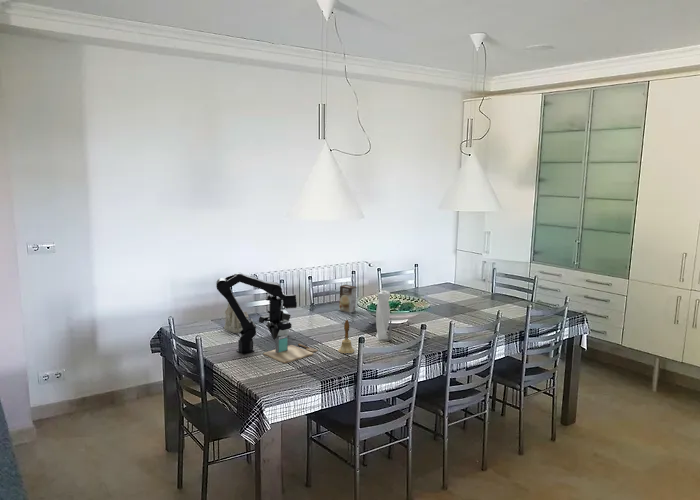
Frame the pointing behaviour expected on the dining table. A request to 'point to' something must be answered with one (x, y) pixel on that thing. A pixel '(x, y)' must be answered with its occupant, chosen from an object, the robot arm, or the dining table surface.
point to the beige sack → (232, 321)
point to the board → (289, 354)
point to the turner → (308, 348)
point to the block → (281, 344)
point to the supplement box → (283, 332)
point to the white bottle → (383, 316)
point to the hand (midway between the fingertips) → (274, 339)
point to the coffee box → (347, 298)
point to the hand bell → (346, 341)
